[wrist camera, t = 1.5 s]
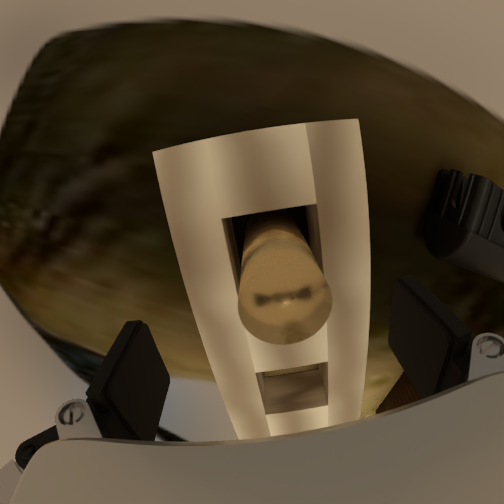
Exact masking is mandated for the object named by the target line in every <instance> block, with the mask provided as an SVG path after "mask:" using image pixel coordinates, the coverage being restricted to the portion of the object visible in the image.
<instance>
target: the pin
mask: <svg viewBox="0 0 504 504" xmlns="http://www.w3.org/2000/svg"><path fill="white" fill-rule="evenodd" d="M332 301H333V299H332V293H331V289H330V287H329V285H328V283H327V281H326V279H325V277H324V275H323V273H322V271H321V269H320V267H319V265H318V263H317V261H316V259H315V257H314V255H313V254H312V252H311V250H310V248H309V246H308V244H307V242H306V240H305V238H304V237H303V235H302V233H301V231H300V229H299V227H298V225H297V224H296V222H295V220H294V218H293V217H292V216H291V214H290V213H288V212H287V211H286V210H284V209H277V210H271V211H264V212H258V213H254V214H253V215H252V216H251V217H250V218H249V220H248V222H247V224H246V229H245V237H244V247H243V257H242V267H241V276H240V286H239V296H238V314H239V317H240V320H241V322H242V324H243V326H244V327H245V328H246V330H247V331H248V332H249V333H250V334H252V335H253V336H254V337H256V338H258V339H260V340H262V341H264V342H267V343H271V344H278V345H287V344H293V343H298V342H301V341H303V340H305V339H308V338H309V337H311V336H313V335H314V334H315V333H317V332H318V331H319V330H320V329H321V328H322V327H323V326H324V324H325V323H326V321H327V320H328V318H329V316H330V313H331V310H332Z"/></svg>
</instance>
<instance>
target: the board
mask: <svg viewBox="0 0 504 504" xmlns="http://www.w3.org/2000/svg"><path fill="white" fill-rule="evenodd" d="M153 157H154V162H155V167H156V171H157V176H158V181H159V185H160V190H161V194H162V199H163V203H164V207H165V212H166V216H167V220H168V224H169V228H170V232H171V236H172V240H173V244H174V247H175V251H176V255H177V259H178V262H179V266H180V270H181V273H182V277H183V280H184V284H185V287H186V290H187V294H188V297H189V301H190V304H191V307H192V310H193V314H194V317H195V320H196V323H197V326H198V329H199V332H200V336H201V339H202V342H203V345H204V348H205V351H206V353H207V356H208V359H209V362H210V365H211V368H212V371H213V374H214V376H215V379H216V382H217V385H218V387H219V390H220V392H221V395H222V398H223V401H224V403H225V406H226V408H227V411H228V414H229V416H230V419H231V421H232V424H233V426H234V429H235V431H236V434H237V436H238V438H239V440H242V439H253V438H262V437H270V436H278V435H285V434H291V433H297V432H303V431H309V430H314V429H319V428H324V427H329V426H333V425H338V424H342V423H346V422H350V421H354V420H358V419H360V413H361V406H362V398H363V391H364V382H365V373H366V363H367V351H368V337H369V319H370V230H369V211H368V197H367V185H366V175H365V165H364V157H363V149H362V141H361V134H360V127H359V121H358V119H346V120H332V121H320V122H310V123H301V124H292V125H284V126H277V127H270V128H263V129H257V130H251V131H245V132H239V133H233V134H228V135H223V136H218V137H213V138H208V139H204V140H199V141H194V142H190V143H186V144H182V145H178V146H173V147H170V148H166V149H162V150H158V151H154V152H153ZM303 205H305V211H306V219H307V227H308V236H309V245H310V250H311V252H312V254H313V255H314V257H315V259H316V261H317V263H318V265H319V267H320V269H321V271H322V273H323V275H324V277H325V279H326V281H327V283H328V285H329V287H330V289H331V293H332V299H333V301H332V310H331V313H330V316H329V318H328V320H327V321H326V323H325V324H324V326H323V327H322V328H321V329H320V330H319V331H318V332H317V333H315V334H314V335H313V336H311V337H309V338H308V339H305V340H303V341H301V342H298V343H293V344H287V345H278V344H271V343H267V342H264V341H262V340H260V339H258V338H256V337H254V336H253V335H252V334H250V333H249V332H248V331H247V330H246V328H245V327H244V326H243V324H242V322H241V320H240V317H239V314H238V296H239V286H240V276H241V264H240V259H239V254H238V249H237V244H236V239H235V234H234V229H233V224H232V219H231V217H234V216H240V215H246V214H252V213H258V212H264V211H271V210H277V209H283V208H290V207H296V206H303ZM317 363H319V369H316V370H311V371H305V372H299V373H293V374H286V375H279V376H272V377H264V374H263V372H265V371H273V370H280V369H287V368H293V367H300V366H306V365H311V364H317Z"/></svg>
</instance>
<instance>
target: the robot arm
mask: <svg viewBox="0 0 504 504" xmlns="http://www.w3.org/2000/svg"><path fill="white" fill-rule="evenodd" d="M471 333H472V331H471V330H470V329H469V328H468V327H467V326H466V325H465V324H464V323H463V322H462V321H461V320H460V319H459V318H458V317H457V316H456V315H455V314H454V313H453V312H452V311H451V310H450V309H449V308H448V307H446V306H445V305H444V304H443V303H442V302H441V301H440V300H439V299H438V298H437V297H436V296H435V295H434V294H433V293H432V292H430V291H429V290H428V289H427V288H426V287H425V286H424V285H423V284H422V283H421V282H420V281H418V280H417V279H416V278H415V277H414V276H413V275H407V276H403V277H399V278H397V280H396V282H394V283H393V289H392V305H391V317H390V328H389V337H388V342H389V346H390V348H391V350H392V351H393V353H394V355H395V356H396V358H397V359H398V361H399V363H400V364H401V366H402V368H403V369H404V371H405V373H406V374H407V376H408V378H409V379H410V381H411V383H412V384H413V386H414V388H415V389H416V391H417V393H418V395H419V396H420V398H421V400H418V401H416V402H413V403H410V404H407V405H404V406H401V407H398V408H395V409H392V410H389V411H386V412H383V413H379V414H376V415H373V416H369V417H365V418H362V419H358V420H354V421H350V422H346V423H342V424H338V425H333V426H329V427H324V428H319V429H314V430H309V431H303V432H297V433H291V434H285V435H278V436H270V437H262V438H253V439H242V440H228V441H209V442H162V441H154V440H155V437H156V433H157V429H158V425H159V421H160V417H161V414H162V410H163V406H164V402H165V399H166V395H167V391H168V387H169V384H170V376H169V373H168V371H167V369H166V367H165V365H164V362H163V360H162V358H161V356H160V353H159V351H158V349H157V347H156V344H155V342H154V339H153V337H152V335H151V332H150V330H149V327H148V325H147V324H145V323H143V322H142V321H141V320H137V321H128V322H126V323H125V325H124V326H123V328H122V330H121V331H120V333H119V335H118V336H117V338H116V340H115V342H114V343H113V345H112V347H111V348H110V350H109V352H108V354H107V355H106V357H105V359H104V361H103V362H102V364H101V366H100V368H99V369H98V371H97V373H96V375H95V377H94V378H93V380H92V382H91V384H90V386H89V388H88V389H87V392H86V395H87V396H88V398H87V399H86V401H85V400H82V399H72V400H69V401H67V402H65V403H63V404H62V405H61V406H60V407H59V408H58V410H57V412H56V415H55V423H56V425H55V426H53V427H51V428H49V429H47V430H45V431H43V432H42V433H39V434H37V435H36V436H34V437H32V438H30V439H28V440H26V441H24V442H23V443H21V444H20V445H19V447H18V449H17V451H16V455H15V459H16V462H14V461H13V460H11V461H10V462H9V463H7V464H6V465H5V466H4V467H3V468H2V469H0V504H504V339H503V338H502V337H501V336H499V335H497V334H493V333H484V334H480V335H478V336H476V338H475V339H474V338H473V337H472V336H471Z"/></svg>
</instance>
